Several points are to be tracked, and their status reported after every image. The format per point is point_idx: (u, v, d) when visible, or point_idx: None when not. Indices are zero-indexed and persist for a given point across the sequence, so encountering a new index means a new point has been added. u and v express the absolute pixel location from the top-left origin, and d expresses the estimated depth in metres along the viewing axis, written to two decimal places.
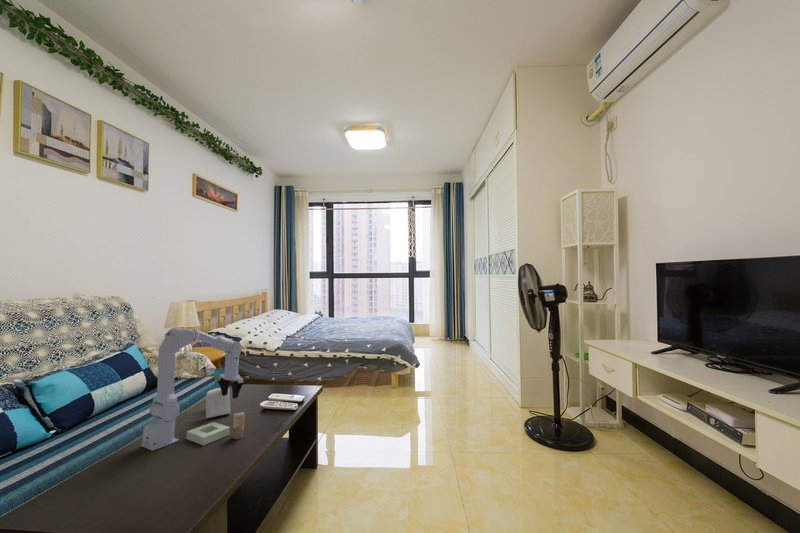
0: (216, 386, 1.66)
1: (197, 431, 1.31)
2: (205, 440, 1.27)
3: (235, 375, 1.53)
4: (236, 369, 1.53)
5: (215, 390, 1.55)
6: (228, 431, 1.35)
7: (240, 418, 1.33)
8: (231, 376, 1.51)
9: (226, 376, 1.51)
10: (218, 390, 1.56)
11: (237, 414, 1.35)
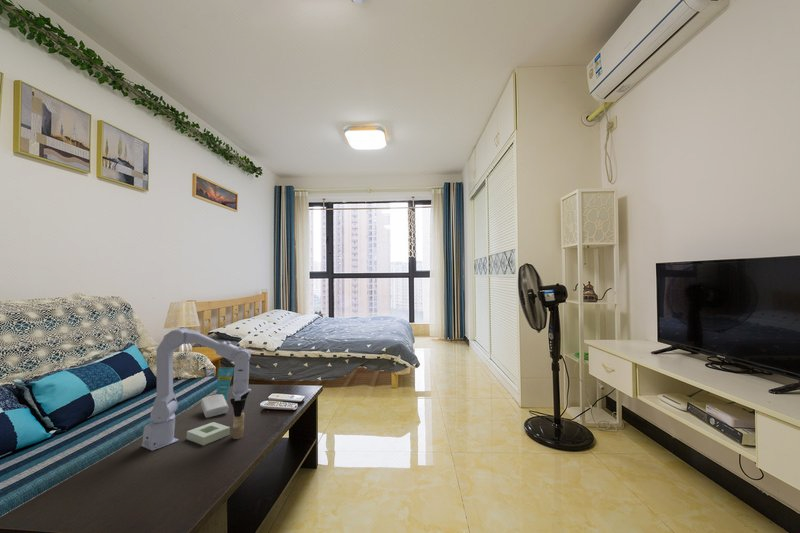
0: (218, 385, 1.67)
1: (197, 431, 1.31)
2: (205, 440, 1.27)
3: (240, 390, 1.33)
4: (241, 383, 1.34)
5: None
6: (228, 431, 1.35)
7: (240, 418, 1.33)
8: (235, 390, 1.33)
9: (233, 389, 1.34)
10: None
11: None
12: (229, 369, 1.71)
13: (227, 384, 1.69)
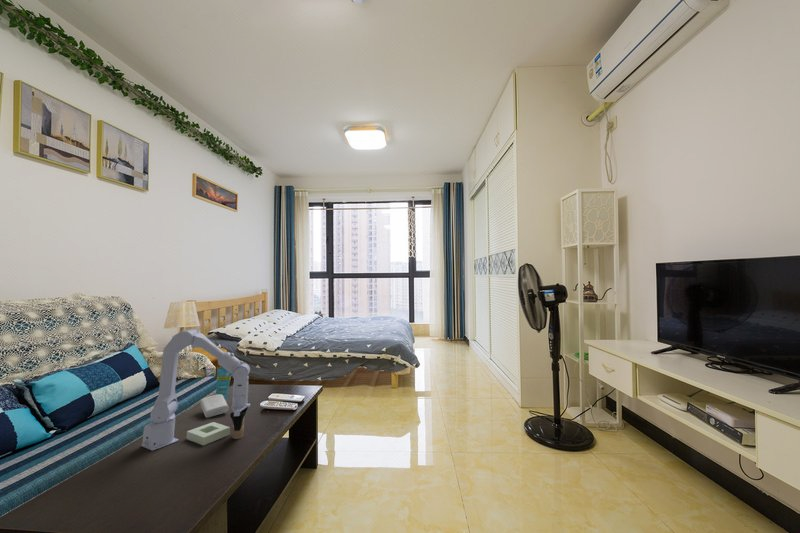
0: (218, 385, 1.67)
1: (197, 431, 1.31)
2: (205, 440, 1.27)
3: (239, 405, 1.33)
4: (240, 398, 1.33)
5: None
6: (228, 431, 1.35)
7: None
8: (234, 405, 1.33)
9: (232, 404, 1.34)
10: None
11: None
12: None
13: (226, 384, 1.69)
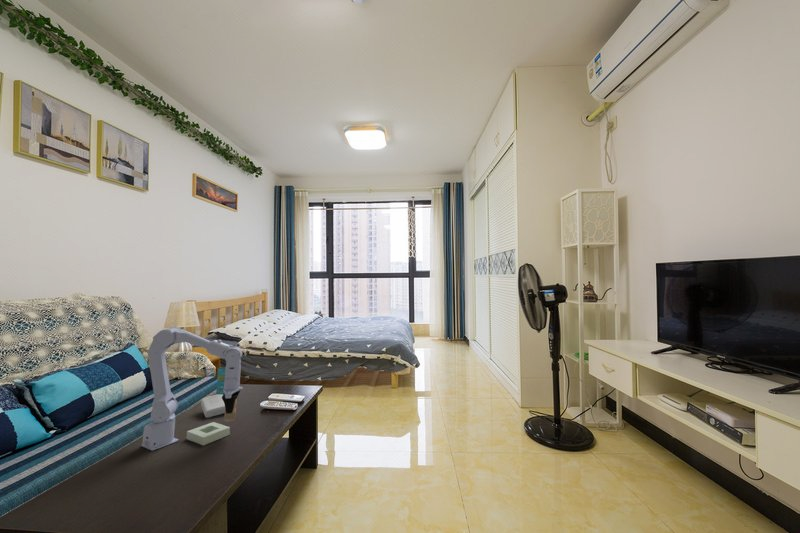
0: (218, 385, 1.67)
1: (197, 431, 1.31)
2: (205, 440, 1.27)
3: (231, 388, 1.33)
4: (232, 381, 1.33)
5: (208, 396, 1.62)
6: (228, 431, 1.35)
7: None
8: (226, 388, 1.33)
9: (224, 387, 1.34)
10: None
11: None
12: None
13: None
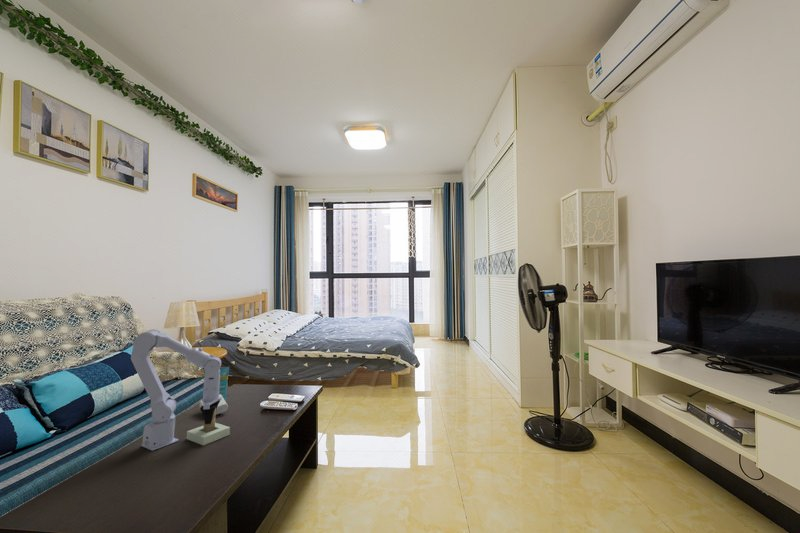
0: None
1: (197, 431, 1.31)
2: (205, 440, 1.27)
3: (209, 398, 1.32)
4: (211, 391, 1.33)
5: None
6: (228, 431, 1.35)
7: None
8: (205, 399, 1.32)
9: (203, 397, 1.33)
10: None
11: None
12: (224, 369, 1.71)
13: (224, 384, 1.69)
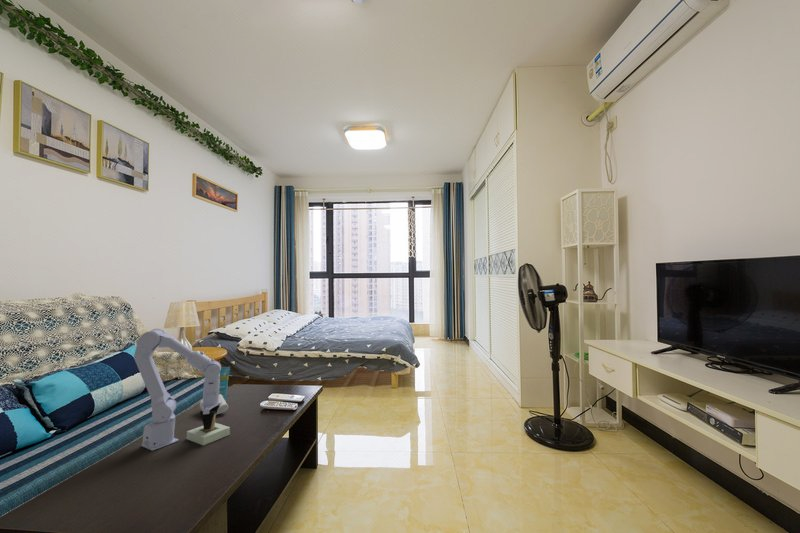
0: None
1: (197, 431, 1.31)
2: (205, 440, 1.27)
3: (209, 403, 1.32)
4: (211, 396, 1.32)
5: None
6: (228, 431, 1.35)
7: None
8: (204, 403, 1.32)
9: None
10: None
11: None
12: (225, 369, 1.71)
13: (225, 384, 1.69)
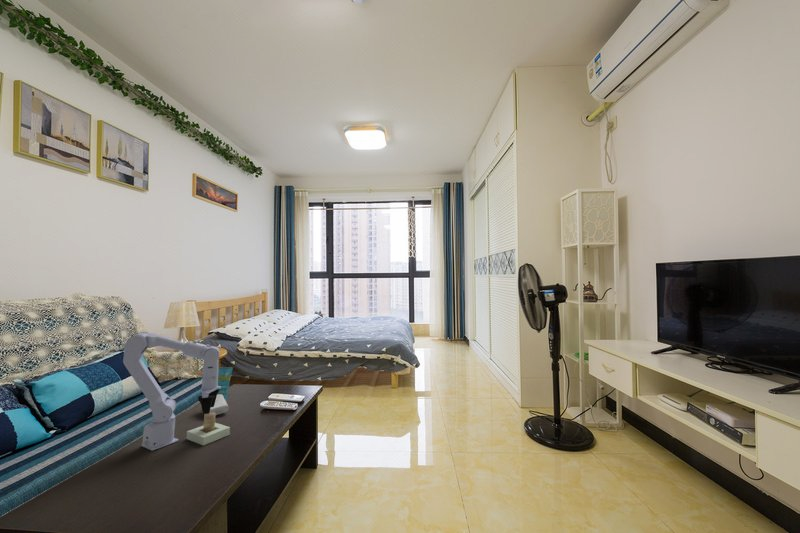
0: (218, 385, 1.67)
1: (197, 431, 1.31)
2: (205, 440, 1.27)
3: (208, 387, 1.33)
4: (210, 380, 1.33)
5: None
6: (228, 431, 1.35)
7: (210, 418, 1.33)
8: (204, 387, 1.33)
9: None
10: None
11: (208, 414, 1.34)
12: (228, 369, 1.71)
13: (226, 384, 1.69)
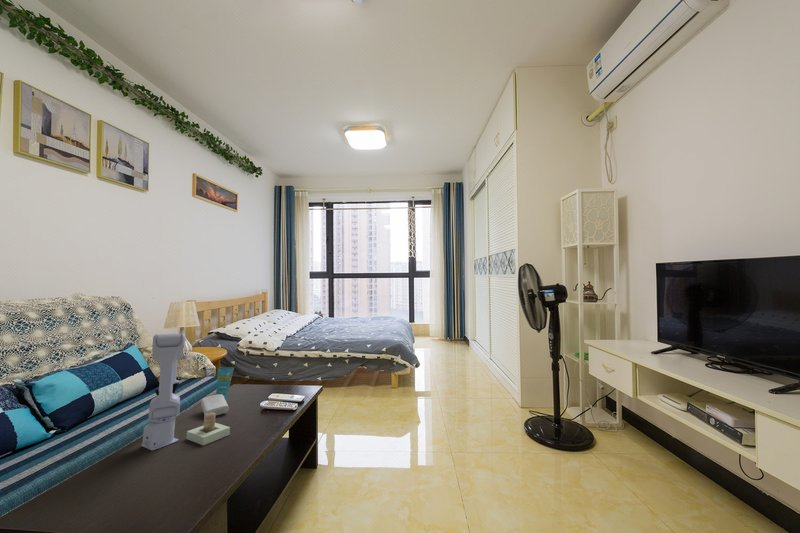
0: (218, 385, 1.67)
1: (197, 431, 1.31)
2: (205, 440, 1.27)
3: None
4: None
5: (208, 396, 1.62)
6: (228, 431, 1.35)
7: (210, 418, 1.33)
8: None
9: None
10: None
11: (208, 414, 1.34)
12: (229, 369, 1.71)
13: (227, 384, 1.69)
